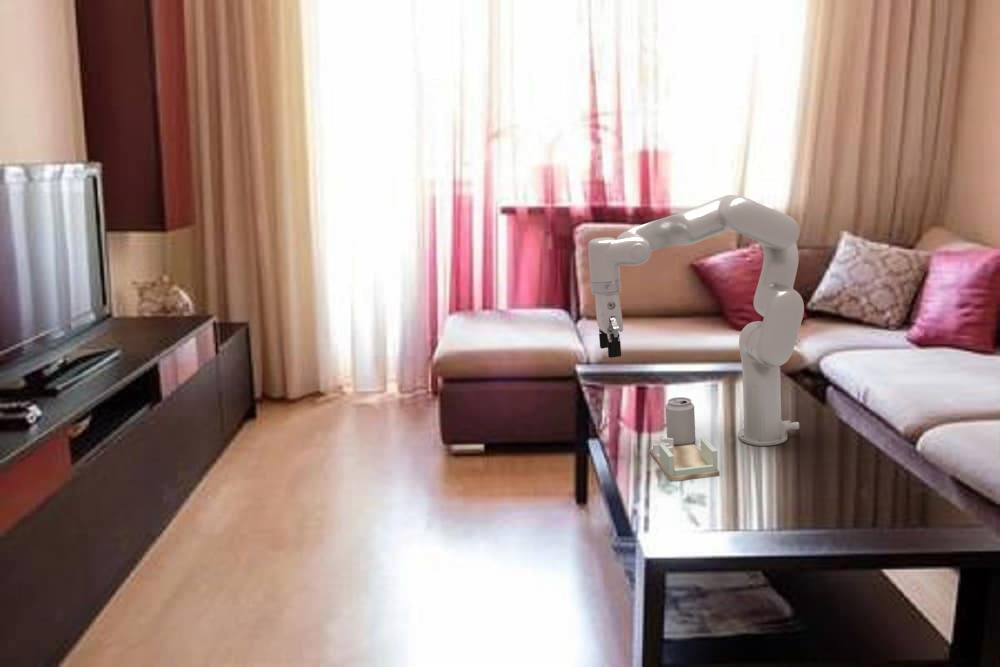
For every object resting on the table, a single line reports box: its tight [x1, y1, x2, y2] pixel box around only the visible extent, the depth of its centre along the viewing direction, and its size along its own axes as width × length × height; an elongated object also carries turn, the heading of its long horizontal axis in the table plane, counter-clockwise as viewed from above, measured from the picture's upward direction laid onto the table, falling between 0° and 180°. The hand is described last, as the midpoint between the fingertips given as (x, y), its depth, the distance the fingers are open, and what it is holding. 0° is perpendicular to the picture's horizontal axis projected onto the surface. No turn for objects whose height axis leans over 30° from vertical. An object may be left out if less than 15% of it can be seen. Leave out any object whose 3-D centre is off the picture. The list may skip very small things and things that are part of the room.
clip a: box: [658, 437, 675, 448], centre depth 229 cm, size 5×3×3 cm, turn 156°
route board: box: [649, 443, 720, 482], centre depth 224 cm, size 12×20×1 cm, turn 5°
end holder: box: [659, 438, 719, 476], centre depth 218 cm, size 12×10×5 cm
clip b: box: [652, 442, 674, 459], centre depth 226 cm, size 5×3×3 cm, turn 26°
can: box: [665, 396, 696, 447], centre depth 237 cm, size 8×8×12 cm
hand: (610, 352), depth 228 cm, fingers open, 9 cm apart
